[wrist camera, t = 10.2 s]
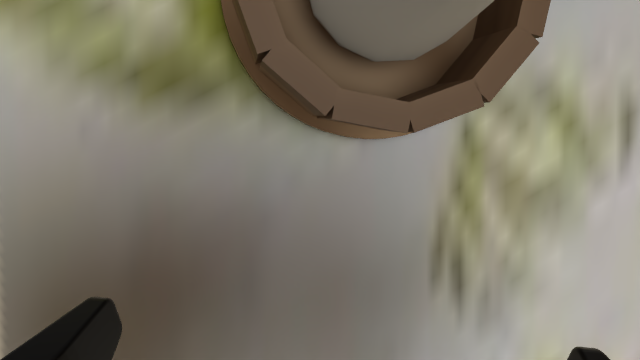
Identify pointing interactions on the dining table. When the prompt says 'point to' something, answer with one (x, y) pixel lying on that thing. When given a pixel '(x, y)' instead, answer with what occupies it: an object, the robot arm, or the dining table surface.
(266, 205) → the dining table surface
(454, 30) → the salt shaker
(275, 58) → the collar stand
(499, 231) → the dining table surface
